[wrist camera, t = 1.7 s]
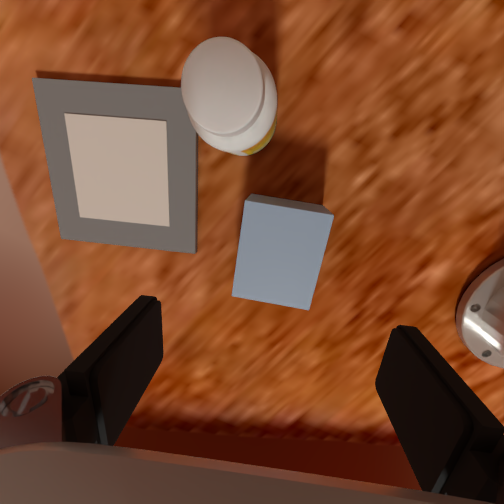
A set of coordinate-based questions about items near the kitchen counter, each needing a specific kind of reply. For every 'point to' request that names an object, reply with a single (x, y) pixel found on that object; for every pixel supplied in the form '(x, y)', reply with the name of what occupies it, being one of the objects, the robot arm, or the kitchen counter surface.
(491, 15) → the kitchen counter surface
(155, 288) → the kitchen counter surface
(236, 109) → the supplement bottle
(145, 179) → the base plate
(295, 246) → the light blue block
